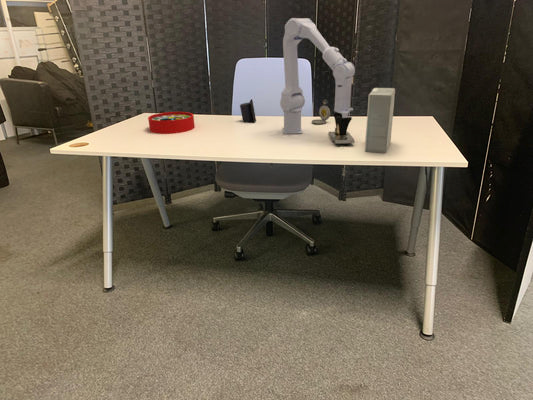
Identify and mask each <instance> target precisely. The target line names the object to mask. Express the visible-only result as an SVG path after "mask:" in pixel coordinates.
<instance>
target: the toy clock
mask: <svg viewBox="0 0 533 400" xmlns="http://www.w3.org/2000/svg"><path fill="white" fill-rule="evenodd" d="M147 119H148V120H147V121H148V125H149V126H148V127H149V128H148V129H149V132H150V133H153V134H158V135H170V134H171V135H174V134H181V133H185V132H190V131H193V130H194V129H195V127H196V126H195V118H194V114H193V113H191V112H189V111H188V112H186V111H168V112H160V113H155V114H152V115H149V116H148V118H147Z"/></svg>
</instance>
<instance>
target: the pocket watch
mask: <svg viewBox="0 0 533 400" xmlns="http://www.w3.org/2000/svg"><path fill="white" fill-rule="evenodd" d="M322 103H323V105H322V106H320V107H319V111H318V115H319V118H320V119H312V120H311V123H312V124H315V125H324V124H326V122H327V121H328V119H330V117H331V110H330V108H329V107H328V106H327V105H326V104H327V99H324V100H323V101H322Z"/></svg>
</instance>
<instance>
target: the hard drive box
mask: <svg viewBox="0 0 533 400" xmlns="http://www.w3.org/2000/svg"><path fill="white" fill-rule="evenodd" d="M395 95H396V88H394V87H374V88H373V89H372V90H371V92H370V93H369V94H368V99H367V101H368V102H367V113H366V114H367V116H366V127H365V128H366V129H365V142H364V143H365V145H364V151H365V152H369V153H381V154H382V153H383V154H386V153H387V151H388V148H389V146H390V144H391V141H392V132H393V131H392V130H393V129H392V128H393V119H394V108H395V107H394V106H395Z"/></svg>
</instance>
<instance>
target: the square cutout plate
mask: <svg viewBox="0 0 533 400" xmlns="http://www.w3.org/2000/svg"><path fill="white" fill-rule="evenodd" d="M327 133H328V137H329V138H330V140H331V142H332V144H333V143H334V144H339V145H340V146H341V147H345V146H346V147H347V146H348V144H355V138H354V137H353V136H352V135H351V133H350V132H349V131H347V132H346V135H344V136H337V129H336V127H334V131H328V132H327Z"/></svg>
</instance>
